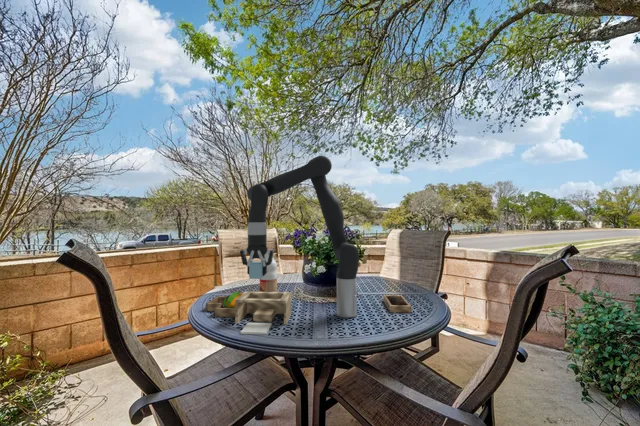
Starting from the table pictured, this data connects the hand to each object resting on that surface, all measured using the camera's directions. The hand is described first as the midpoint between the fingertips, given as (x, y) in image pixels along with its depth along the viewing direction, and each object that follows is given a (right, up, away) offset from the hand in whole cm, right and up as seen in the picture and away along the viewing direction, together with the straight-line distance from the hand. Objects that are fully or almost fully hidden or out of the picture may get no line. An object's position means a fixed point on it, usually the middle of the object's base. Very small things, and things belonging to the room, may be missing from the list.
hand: (257, 275), depth 116 cm
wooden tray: (+65, -22, +30) cm, 75 cm away
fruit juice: (-3, -23, +41) cm, 47 cm away
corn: (-18, -23, +29) cm, 41 cm away
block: (0, -1, 0) cm, 1 cm away
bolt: (+64, -23, +29) cm, 74 cm away
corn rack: (-15, -22, +28) cm, 39 cm away
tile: (0, -22, 0) cm, 22 cm away
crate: (+1, -22, +13) cm, 25 cm away
